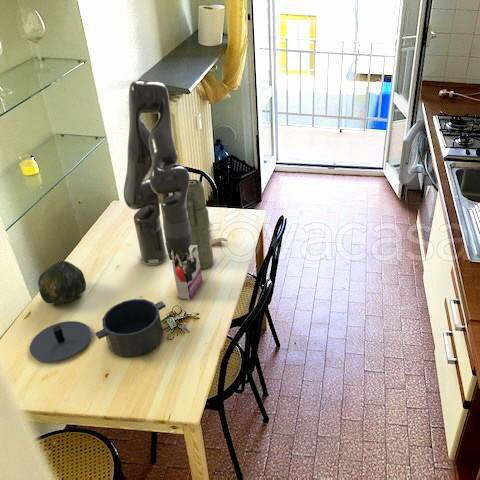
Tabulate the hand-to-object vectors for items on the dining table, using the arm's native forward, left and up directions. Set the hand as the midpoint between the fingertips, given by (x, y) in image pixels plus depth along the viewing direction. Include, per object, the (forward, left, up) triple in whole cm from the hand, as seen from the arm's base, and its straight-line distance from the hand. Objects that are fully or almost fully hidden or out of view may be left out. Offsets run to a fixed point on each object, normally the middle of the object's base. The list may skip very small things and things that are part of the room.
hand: (184, 276), depth 158 cm
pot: (-6, -16, -20) cm, 26 cm away
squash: (-42, -24, -20) cm, 52 cm away
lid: (-20, -34, -19) cm, 44 cm away
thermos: (-27, +22, -20) cm, 40 cm away
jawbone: (-41, +38, -20) cm, 59 cm away
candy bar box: (-16, +10, -20) cm, 27 cm away
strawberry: (0, 0, -1) cm, 1 cm away
